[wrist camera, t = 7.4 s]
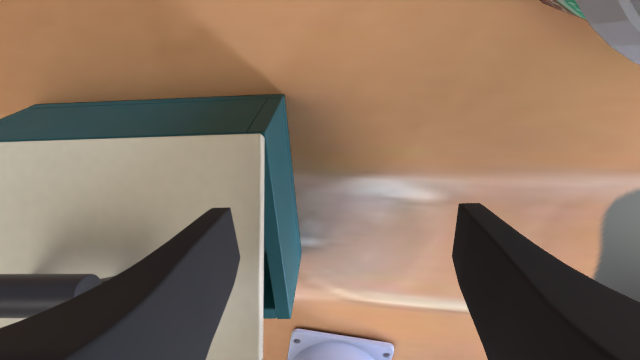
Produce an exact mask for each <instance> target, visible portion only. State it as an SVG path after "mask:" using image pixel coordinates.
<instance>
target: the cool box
mask: <svg viewBox="0 0 640 360" xmlns="http://www.w3.org/2000/svg"><path fill="white" fill-rule="evenodd" d="M258 133H260V134H261V135H262V136H263V137H264V138H265V160H264V293H263V318H276V317H277V319H291V314H292V308H293V302H294V296H295V290H296V284H297V278H298V272H299V266H300V260H301V244H300V235H299V226H298V216H297V207H296V197H295V188H294V179H293V169H292V160H291V151H290V141H289V132H288V122H287V113H286V104H285V95H284V94H270V95H247V96H223V97H200V98H176V99H153V100H129V101H106V102H82V103H59V104H35V105H33V106H30V107H28V108H26V109H23V110H21V111H18V112H16V113H14V114H11V115H9V116H7V117H4V118H2V119H0V142H20V141H50V140H80V139H109V138H139V137H169V136H198V135H228V134H258Z"/></svg>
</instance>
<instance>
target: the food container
mask: <svg viewBox="0 0 640 360" xmlns="http://www.w3.org/2000/svg"><path fill="white" fill-rule="evenodd" d="M540 1H541V2H543V3H544V4H547V5H549V6H551V7H554V8H556V9H558V10H561V11H564V12H567V13H569V14H572V15H575V16H577V17H580V18H583V19H586V20H587V21H588V23H589V25H590V26H591V27H592V28H593V29H594V30H595V31H596V32H597V33H598V34H599V35H600V36H601V37H602V38H603V39H604V41H605V42H606V43H607V44H608V45H609V46H610V47H612V48H613V49H615V50H616V51H618V52H619V53H621V54H622V55H624V56H625V57H627V58H628V59H629V60H631V61H632V62H634V63H637V64H639V65H640V0H540Z"/></svg>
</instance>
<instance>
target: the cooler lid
mask: <svg viewBox="0 0 640 360" xmlns="http://www.w3.org/2000/svg"><path fill="white" fill-rule="evenodd" d="M264 160H265V138H264V137H263V136H262V135H261V134H260V133H258V134H228V135H198V136H169V137H139V138H109V139H80V140H50V141H20V142H0V328H2V327H5V326H7V325H10V324H13V323H16V322H18V321H21V320H23V319H26V318H29V317H31V316H33V315H36V314H38V313H41V312H43V311H45V310H48V309H50V308H52V307H55V306H57V305H59V304H61V303H64V302H66V301H68V300H70V299H72V298H74V297H76V296H78V295H80V294H82V293H84V292H86V291H88V290H90V289H92V288H94V287H96V286H98V285H100V284H102V283H104V282H106V281H107V280H109V279H111V278H113V277H114V276H116V275H118V274H119V273H121V272H123V271H125V270H126V269H128V268H130V267H131V266H133V265H134V264H136V263H137V262H139V261H140V260H142V259H143V258H145V257H146V256H148V255H149V254H151V253H152V252H153V251H155V250H156V249H158V248H159V247H160V246H162V245H163V244H165V243H166V242H168V241H169V240H170V239H171V238H173V237H174V236H175V235H177V234H178V233H179V232H181V231H182V230H183V229H185V228H186V227H187V226H188V225H190V224H191V223H192V222H194V221H195V220H196V219H197V218H199V217H200V216H201V215H203V214H204V213H205V212H207V211H208V210H210V209H211V208H229V207H230V208H231V213H232V218H233V223H234V227H235V232H236V237H237V242H238V247H239V252H240V262H239V267H238V271H237V275H236V279H235V283H234V286H233V289H232V292H231V294H230V297H229V300H228V302H227V305H226V307H225V310H224V312H223V315H222V318H221V320H220V323H219V325H218V328H217V330H216V333H215V335H214V338H213V340H212V343H211V346H210V349H209V351H208V354H207V357H206V360H263V293H264Z"/></svg>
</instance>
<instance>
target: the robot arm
mask: <svg viewBox="0 0 640 360" xmlns="http://www.w3.org/2000/svg"><path fill="white" fill-rule="evenodd" d="M452 258H453V262H454V267H455V271H456V275H457V279H458V283H459V286H460V289H461V291H462V294H463V296H464V299H465V301H466V304H467V307H468V309H469V312H470V314H471V317H472V319H473V322H474V324H475V327H476V329H477V332H478V334H479V337H480V339H481V342H482V344H483V347H484V349H485V352H486V355H487V358H488V360H640V302H638V301H635V300H633V299H631V298H629V297H627V296H625V295H623V294H620V293H618V292H616V291H614V290H612V289H610V288H608V287H606V286H604V285H602V284H600V283H598V282H597V281H595V280H593V279H591V278H589V277H588V276H586V275H584V274H582V273H580V272H579V271H577V270H575V269H573V268H571V267H570V266H568V265H566V264H565V263H563V262H561V261H560V260H558V259H557V258H555V257H554V256H552V255H551V254H549V253H548V252H546V251H544V250H543V249H541V248H540V247H538V246H537V245H536V244H534V243H533V242H531V241H530V240H528V239H527V238H526V237H524V236H523V235H522V234H520V233H519V232H517V231H516V230H515V229H513V228H512V227H511V226H509V225H508V224H507V223H505V222H504V221H503V220H502V219H500V218H499V217H498V216H496V215H495V214H494V213H492V212H491V211H490V210H488V209H487V208H486V207H484V206H483V205H481V204H480V203H465V204H459V207H458V215H457V222H456V230H455V238H454V245H453V253H452ZM239 262H240V252H239V247H238V242H237V237H236V232H235V227H234V223H233V218H232V213H231V208H230V207H229V208H211V209H210V210H208V211H207V212H205V213H204V214H203V215H201V216H200V217H199V218H197V219H196V220H195V221H194V222H192V223H191V224H190V225H188V226H187V227H186V228H185V229H183V230H182V231H181V232H179V233H178V234H177V235H175V236H174V237H173V238H171V239H170V240H169V241H168V242H166V243H165V244H163V245H162V246H160V247H159V248H158V249H156V250H155V251H153V252H152V253H151V254H149V255H148V256H146V257H145V258H143V259H142V260H140V261H139V262H137V263H136V264H134V265H133V266H131V267H130V268H128V269H126V270H125V271H123V272H121V273H119V274H118V275H116V276H114V277H113V278H111V279H109V280H107V281H106V282H104V283H102V284H100V285H98V286H96V287H94V288H92V289H90V290H88V291H86V292H84V293H82V294H80V295H78V296H76V297H74V298H72V299H70V300H68V301H66V302H64V303H61V304H59V305H57V306H55V307H52V308H50V309H48V310H45V311H43V312H41V313H38V314H36V315H33V316H31V317H29V318H26V319H23V320H21V321H18V322H16V323H13V324H10V325H7V326H5V327H2V328H0V360H206V357H207V354H208V351H209V349H210V346H211V343H212V340H213V338H214V335H215V333H216V330H217V328H218V325H219V323H220V320H221V318H222V315H223V312H224V310H225V307H226V305H227V302H228V300H229V297H230V294H231V292H232V289H233V286H234V283H235V279H236V275H237V271H238V267H239ZM393 353H394V346H393V344H391V343H388V342H381V341H375V340H368V339H362V338H356V337H349V336H343V335H336V334H330V333H324V332H317V331H311V330H305V329H294V330H293V331H292V334H291V340H290V346H289V352H288V358H287V360H391V358H392V356H393Z"/></svg>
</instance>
